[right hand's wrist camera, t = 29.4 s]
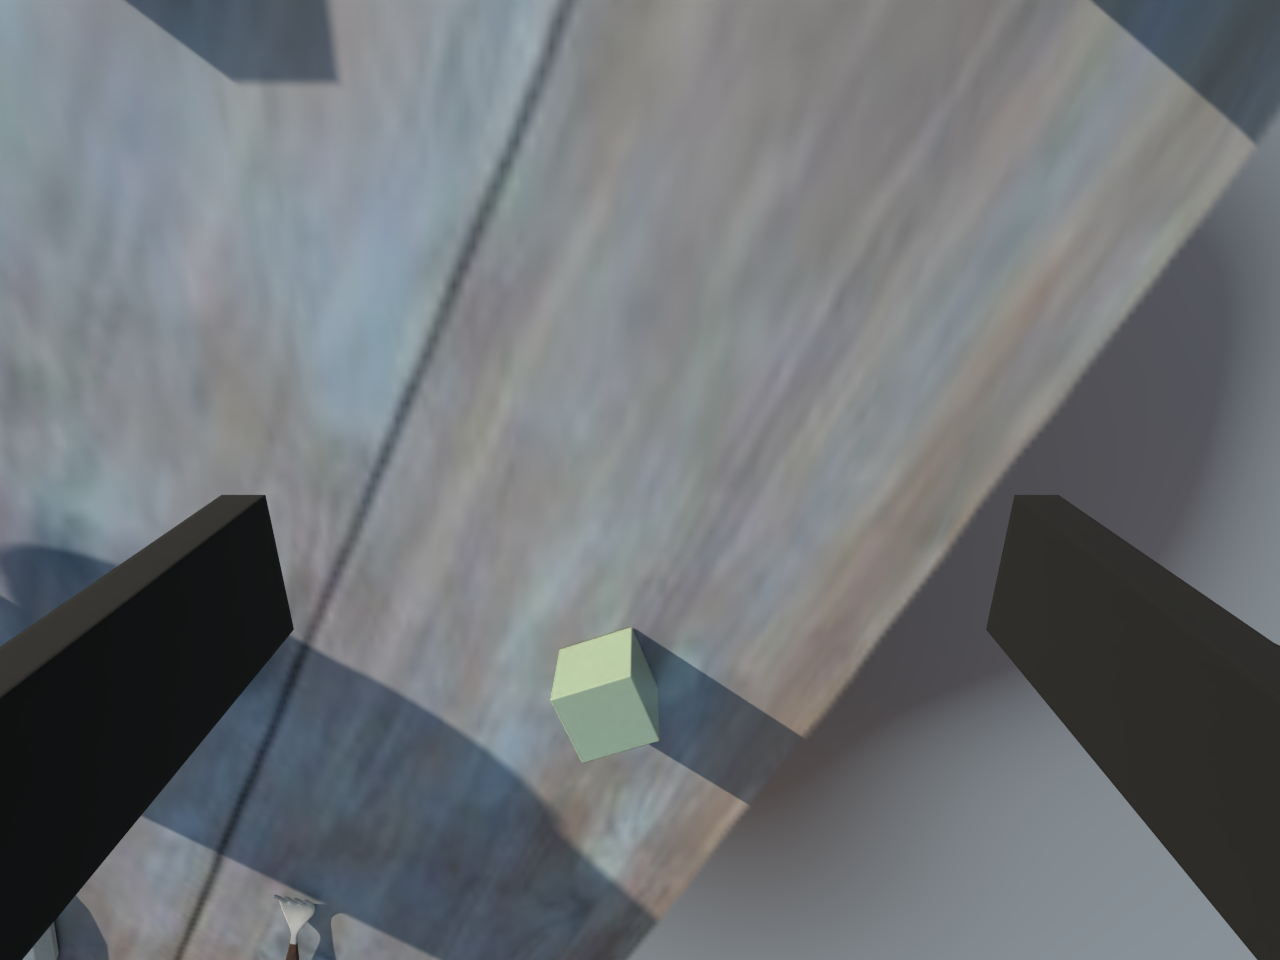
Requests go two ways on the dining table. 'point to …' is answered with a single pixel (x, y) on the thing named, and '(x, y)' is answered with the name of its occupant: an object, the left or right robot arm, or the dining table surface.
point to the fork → (295, 920)
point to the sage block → (606, 695)
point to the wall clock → (45, 947)
